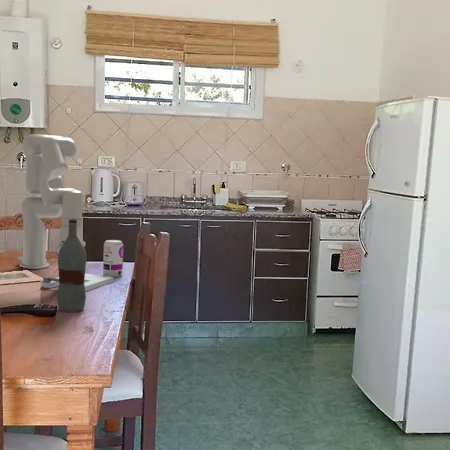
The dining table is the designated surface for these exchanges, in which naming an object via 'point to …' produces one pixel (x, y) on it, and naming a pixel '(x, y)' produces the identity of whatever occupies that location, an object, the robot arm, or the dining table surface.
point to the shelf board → (89, 281)
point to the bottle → (71, 272)
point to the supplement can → (113, 258)
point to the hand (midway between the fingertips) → (70, 266)
